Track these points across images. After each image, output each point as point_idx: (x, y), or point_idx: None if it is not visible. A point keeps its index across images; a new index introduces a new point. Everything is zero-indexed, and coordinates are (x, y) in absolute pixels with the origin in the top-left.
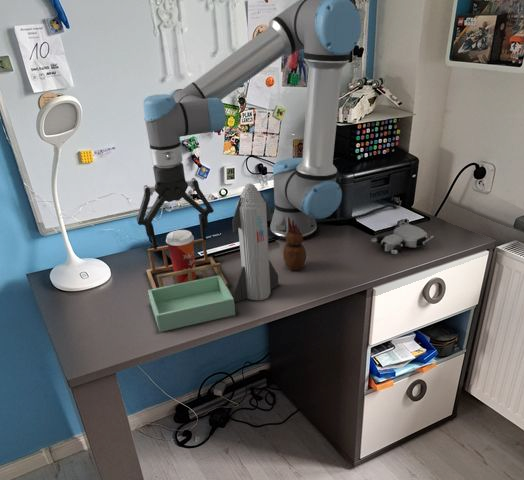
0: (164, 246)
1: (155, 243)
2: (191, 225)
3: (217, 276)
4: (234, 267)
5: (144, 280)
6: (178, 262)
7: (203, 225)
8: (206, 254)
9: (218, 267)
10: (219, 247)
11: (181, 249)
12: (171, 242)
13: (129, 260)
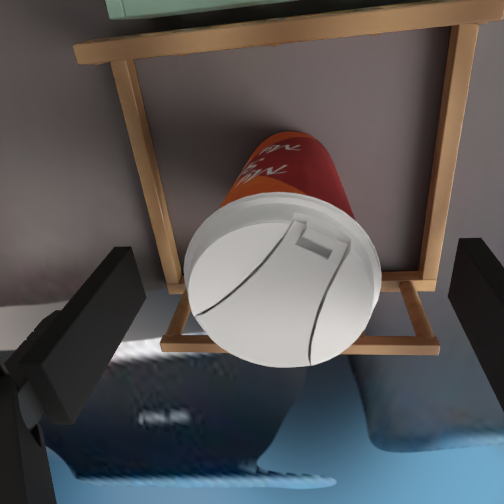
0: (353, 349)
1: (480, 260)
2: (222, 482)
3: (122, 4)
4: (91, 207)
5: (458, 234)
6: (320, 168)
7: (69, 311)
8: (183, 296)
9: (94, 39)
10: (146, 353)
11: (288, 187)
12: (353, 237)
13: (459, 384)
